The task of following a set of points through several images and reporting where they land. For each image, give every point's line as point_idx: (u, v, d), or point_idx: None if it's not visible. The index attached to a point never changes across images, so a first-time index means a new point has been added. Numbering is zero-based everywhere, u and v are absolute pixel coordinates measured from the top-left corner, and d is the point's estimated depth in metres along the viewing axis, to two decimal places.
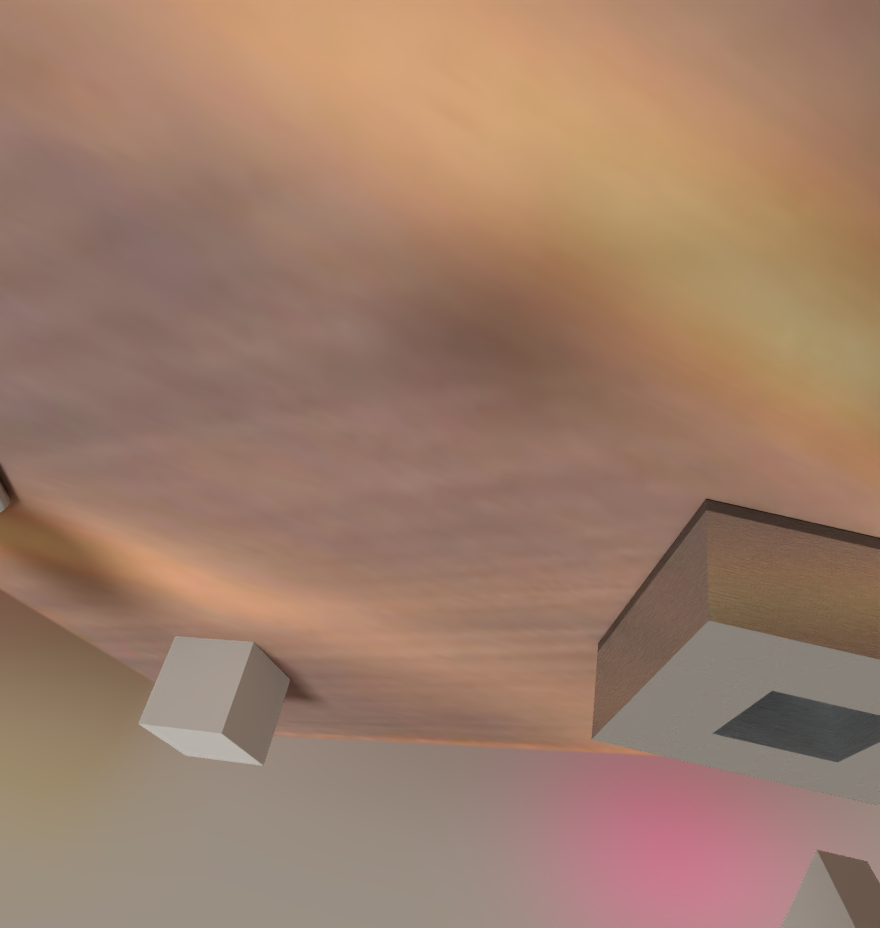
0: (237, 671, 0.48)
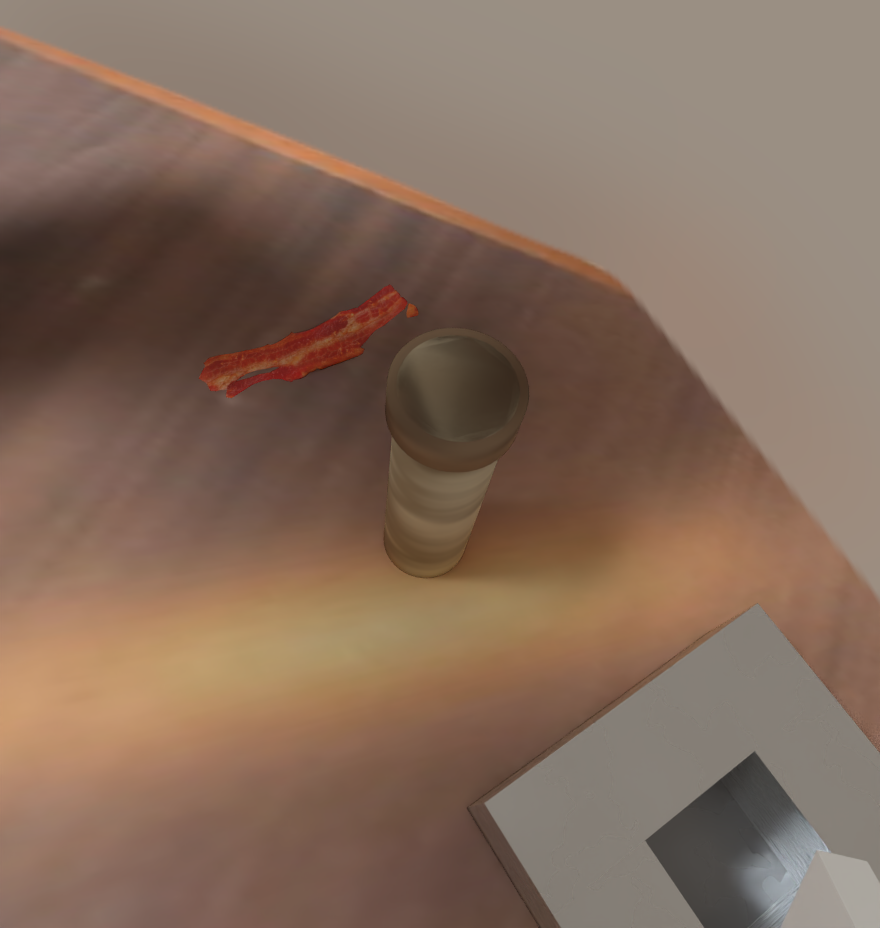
0: None
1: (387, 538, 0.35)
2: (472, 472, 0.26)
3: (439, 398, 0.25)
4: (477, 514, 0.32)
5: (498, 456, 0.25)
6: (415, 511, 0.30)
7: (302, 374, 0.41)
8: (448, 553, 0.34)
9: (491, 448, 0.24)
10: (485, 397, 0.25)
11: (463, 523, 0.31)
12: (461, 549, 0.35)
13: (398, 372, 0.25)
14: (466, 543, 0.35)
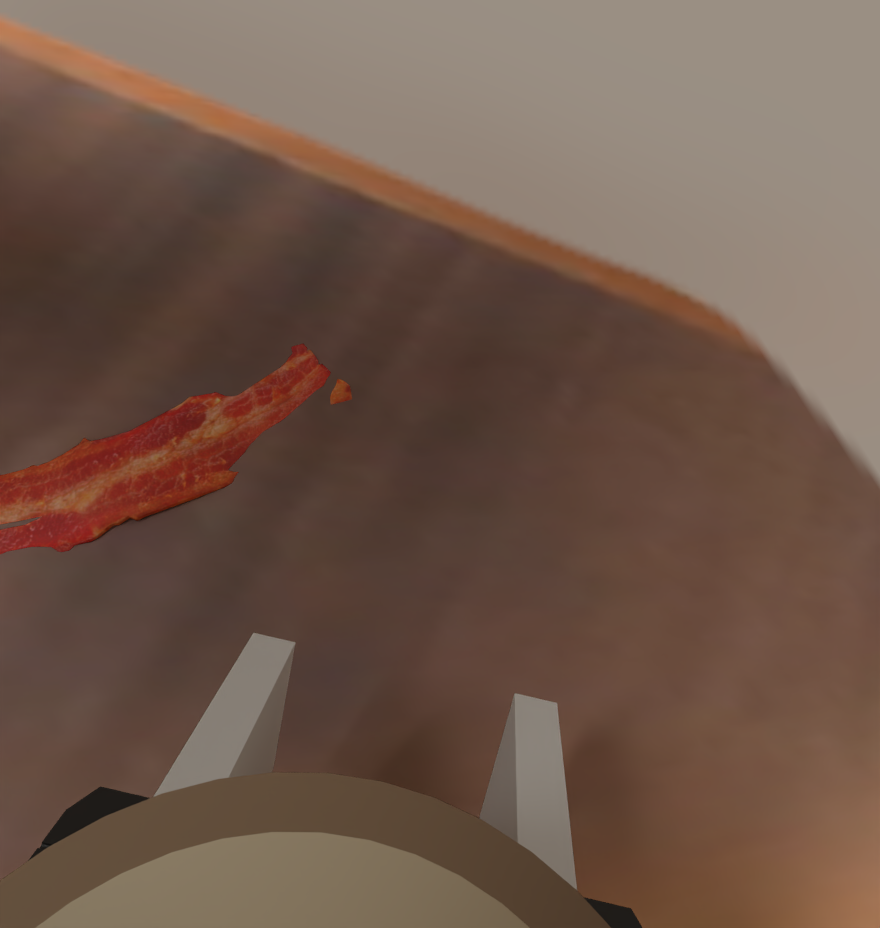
0: None
1: None
2: None
3: None
4: None
5: None
6: None
7: (93, 532, 0.19)
8: None
9: None
10: None
11: None
12: None
13: None
14: None
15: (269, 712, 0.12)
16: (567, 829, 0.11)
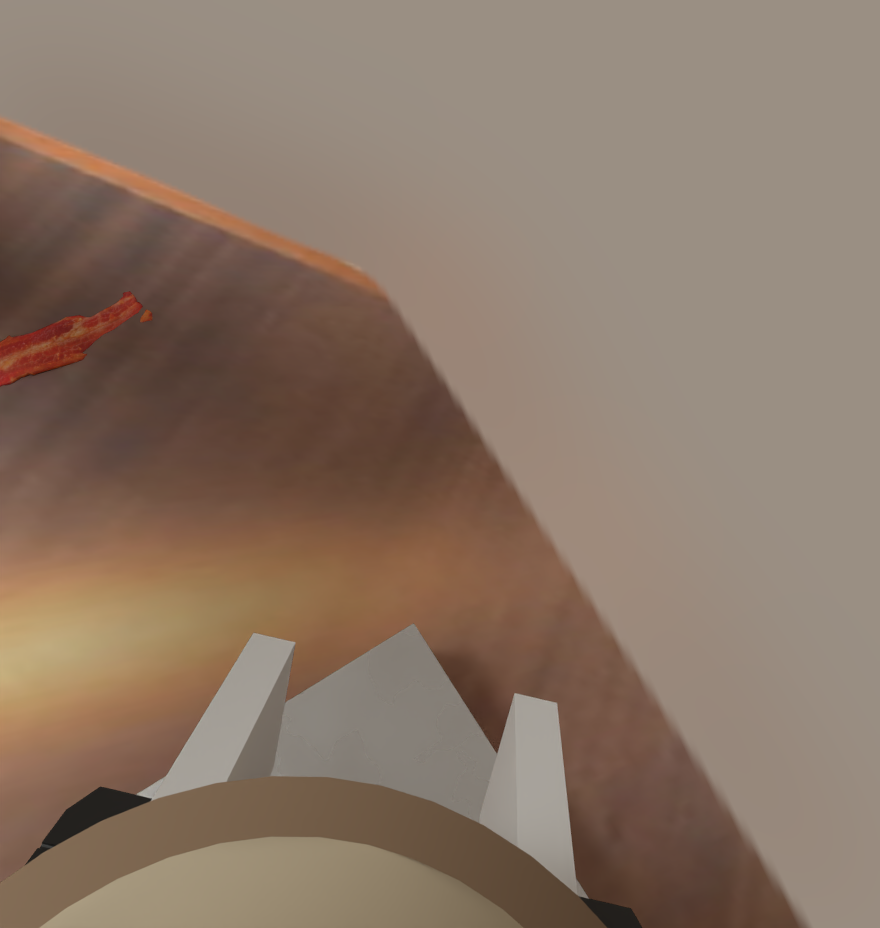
0: None
1: None
2: None
3: None
4: None
5: None
6: None
7: (10, 379, 0.39)
8: None
9: None
10: None
11: None
12: None
13: None
14: None
15: (269, 712, 0.12)
16: (567, 829, 0.11)
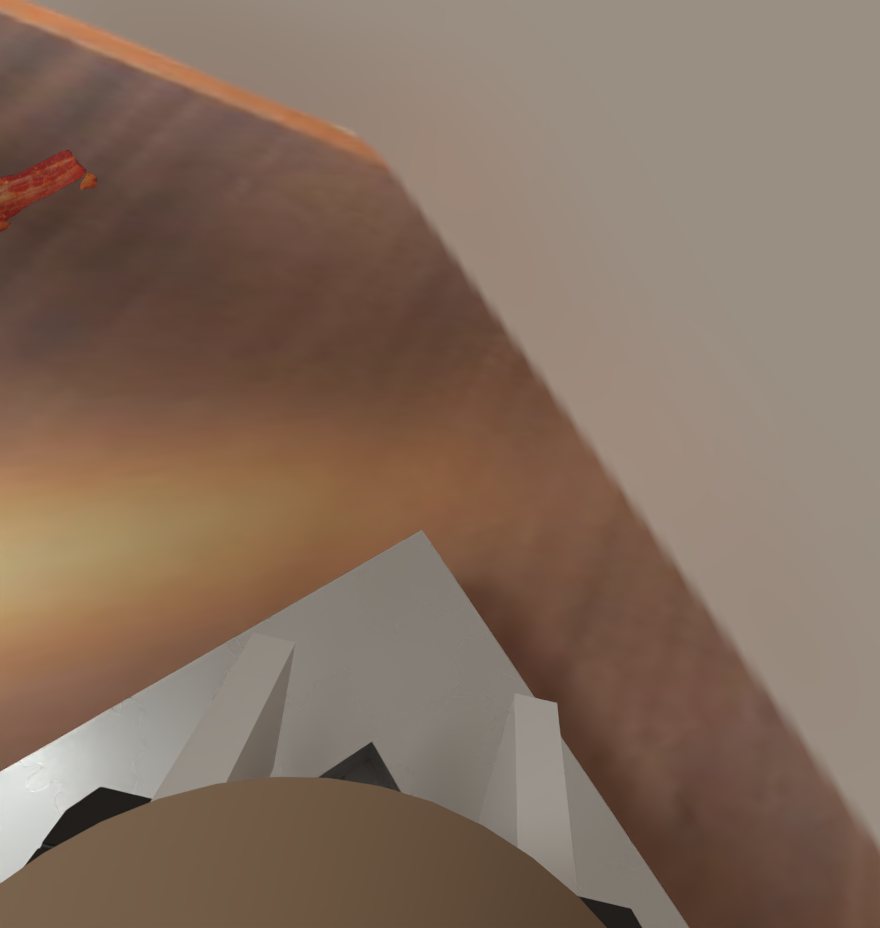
0: None
1: None
2: None
3: None
4: None
5: None
6: None
7: None
8: None
9: None
10: None
11: None
12: None
13: None
14: None
15: (269, 712, 0.12)
16: (567, 829, 0.11)
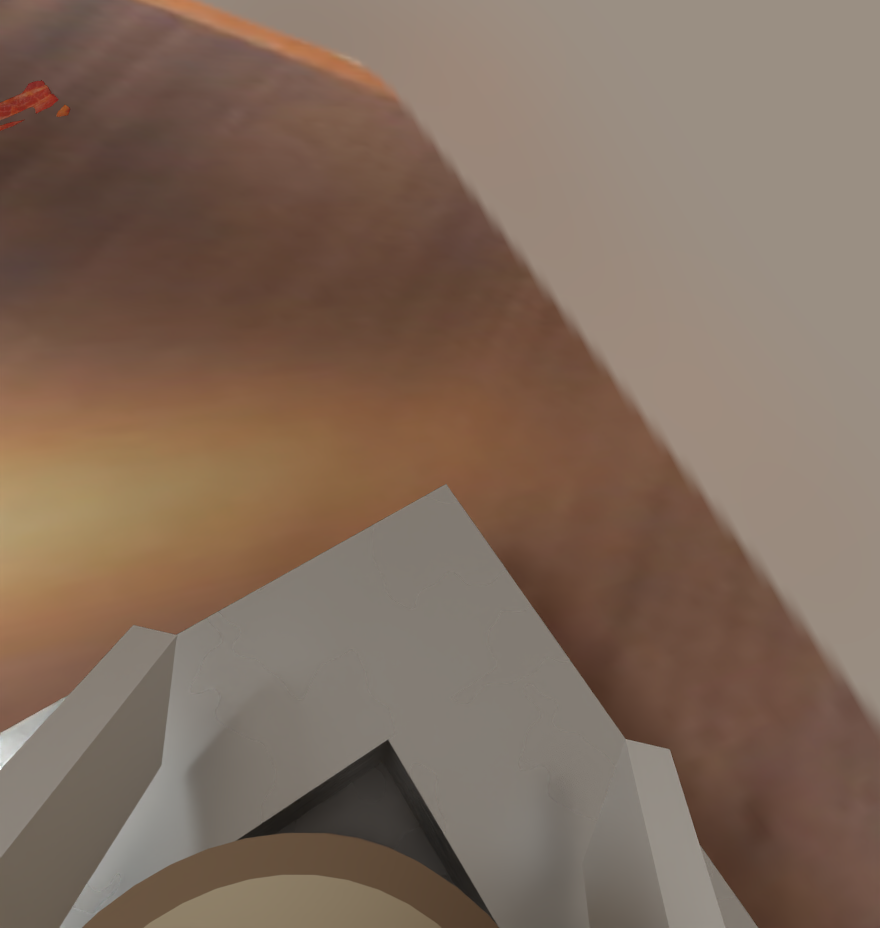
0: None
1: None
2: None
3: None
4: None
5: None
6: None
7: None
8: None
9: None
10: None
11: None
12: None
13: None
14: None
15: (139, 707, 0.12)
16: (712, 895, 0.10)
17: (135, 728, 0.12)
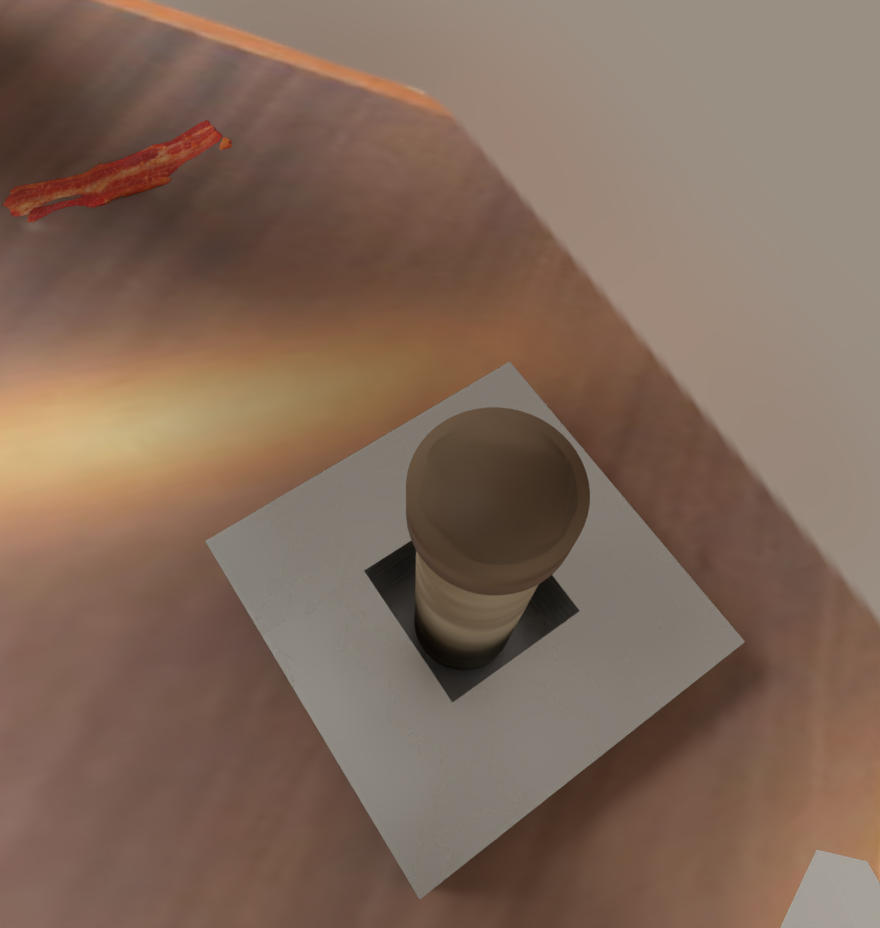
0: None
1: (418, 630, 0.30)
2: None
3: (474, 506, 0.19)
4: None
5: (553, 571, 0.20)
6: (449, 619, 0.24)
7: (104, 200, 0.41)
8: (492, 650, 0.28)
9: (545, 569, 0.19)
10: (533, 500, 0.19)
11: (509, 625, 0.25)
12: (507, 640, 0.29)
13: (419, 473, 0.19)
14: None
15: None
16: None
17: None
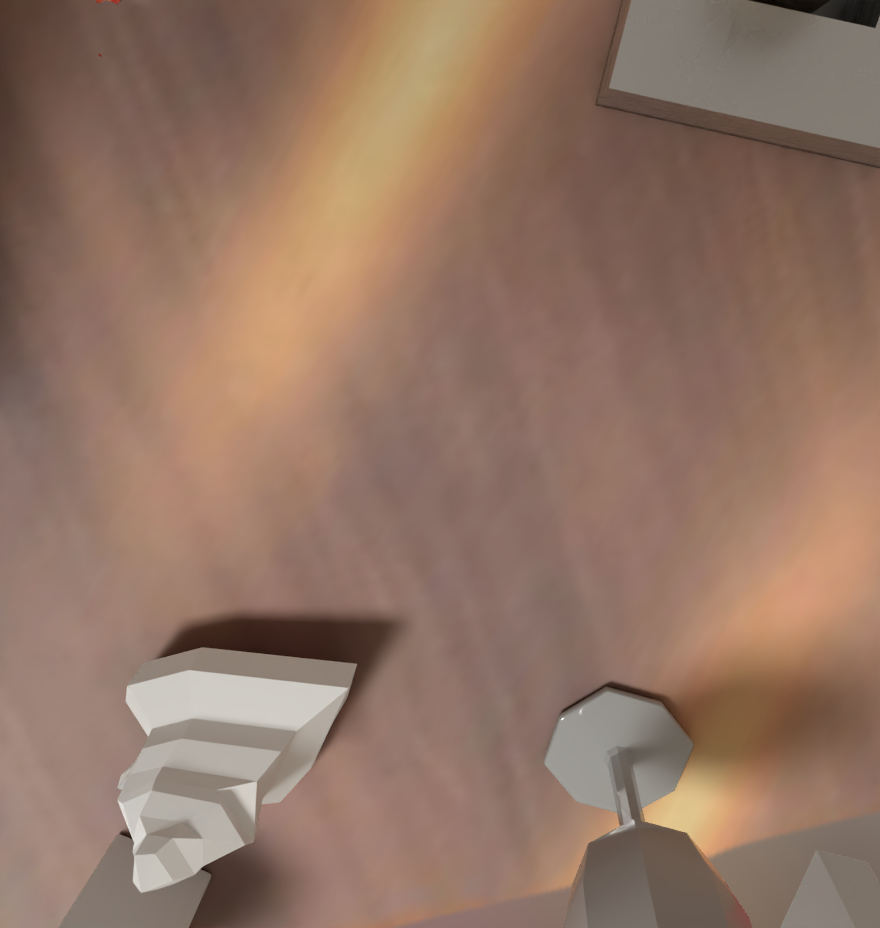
0: None
1: (782, 7, 0.33)
2: None
3: None
4: None
5: None
6: None
7: None
8: None
9: None
10: None
11: None
12: None
13: None
14: None
15: None
16: None
17: None
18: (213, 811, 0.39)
